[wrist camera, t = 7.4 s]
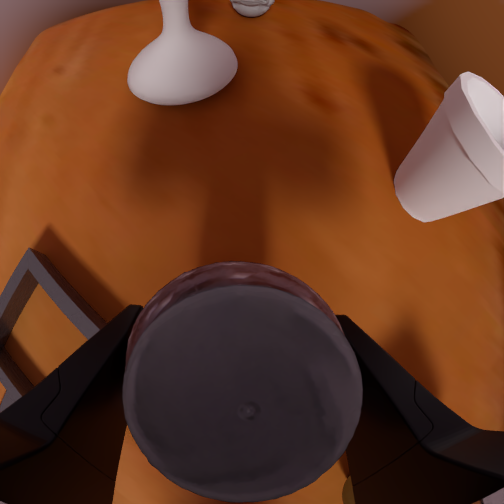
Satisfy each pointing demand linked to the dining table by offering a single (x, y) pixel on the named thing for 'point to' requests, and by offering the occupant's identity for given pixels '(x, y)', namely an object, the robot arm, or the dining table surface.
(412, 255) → the dining table surface
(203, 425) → the supplement bottle
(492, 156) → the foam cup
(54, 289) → the square pan with handle
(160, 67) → the flower in vase
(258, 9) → the lumpy white ball
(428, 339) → the dining table surface
